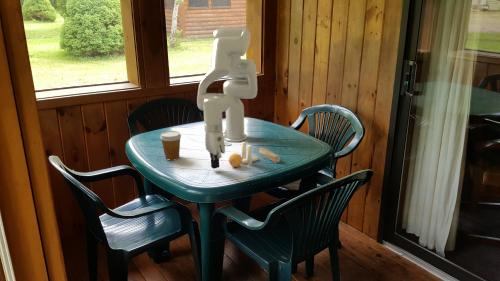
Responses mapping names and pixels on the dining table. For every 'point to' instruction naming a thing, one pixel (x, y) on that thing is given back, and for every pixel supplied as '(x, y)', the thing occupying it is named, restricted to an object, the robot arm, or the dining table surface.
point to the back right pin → (249, 154)
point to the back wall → (269, 154)
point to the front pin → (252, 160)
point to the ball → (235, 160)
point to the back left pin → (243, 150)
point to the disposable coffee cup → (171, 144)
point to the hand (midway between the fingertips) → (215, 167)
